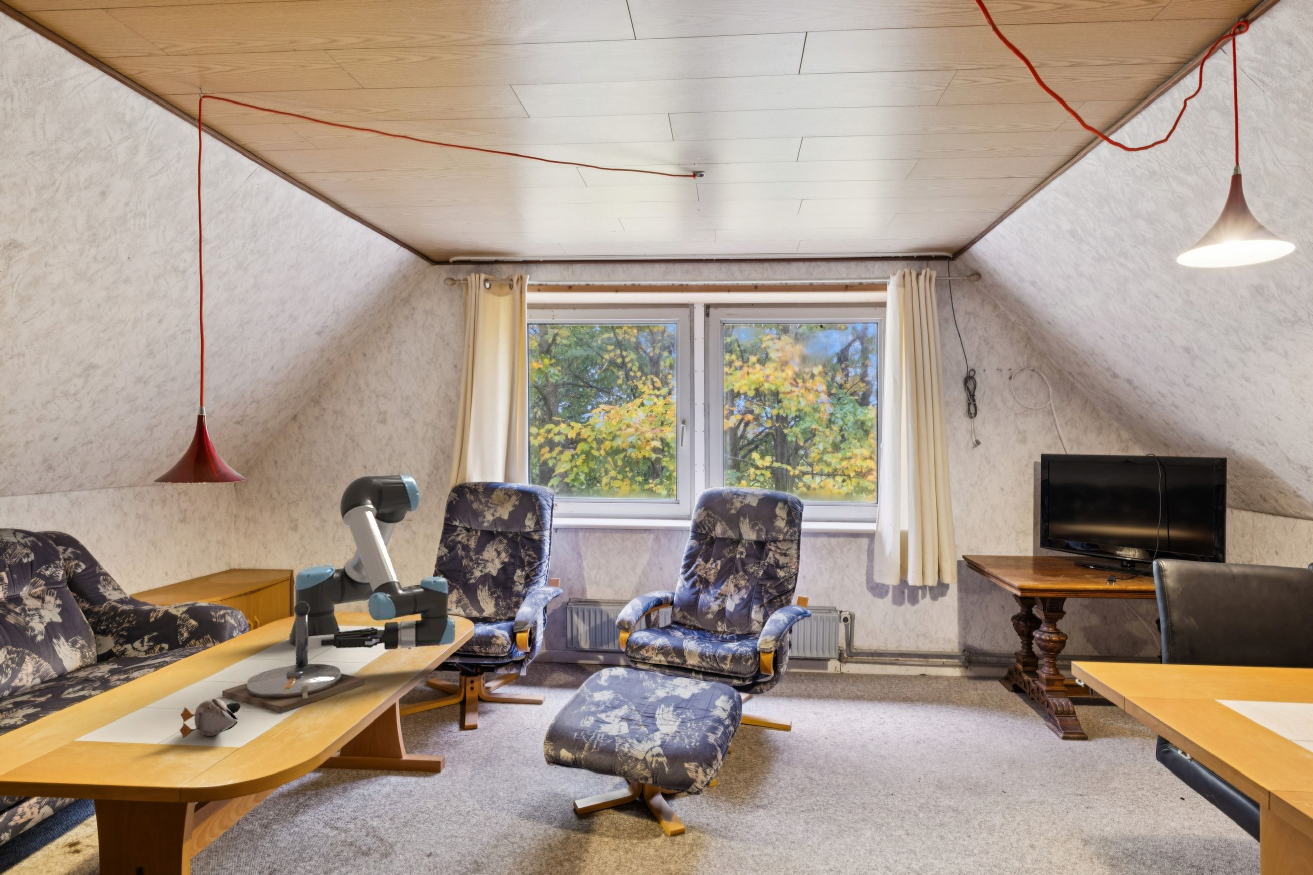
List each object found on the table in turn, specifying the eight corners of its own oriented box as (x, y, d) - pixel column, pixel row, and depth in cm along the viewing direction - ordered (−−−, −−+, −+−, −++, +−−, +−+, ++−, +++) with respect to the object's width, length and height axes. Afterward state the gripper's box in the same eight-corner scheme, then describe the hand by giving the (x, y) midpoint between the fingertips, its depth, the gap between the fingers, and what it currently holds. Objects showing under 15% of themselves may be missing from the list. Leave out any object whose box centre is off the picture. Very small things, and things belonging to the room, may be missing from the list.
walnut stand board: (222, 696, 190) (222, 678, 190) (306, 670, 211) (306, 654, 211) (281, 712, 178) (281, 694, 178) (364, 684, 199) (364, 667, 199)
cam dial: (334, 693, 187) (334, 616, 187) (236, 701, 181) (237, 621, 181) (345, 666, 209) (345, 597, 209) (259, 673, 203) (259, 602, 203)
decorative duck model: (227, 688, 177) (277, 692, 172) (225, 721, 176) (276, 726, 172) (169, 703, 163) (222, 708, 158) (167, 739, 162) (220, 745, 157)
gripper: (398, 654, 205) (305, 663, 198) (399, 641, 218) (311, 649, 211) (398, 627, 205) (305, 634, 198) (399, 616, 218) (311, 622, 211)
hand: (308, 642), depth 204 cm, fingers closed
